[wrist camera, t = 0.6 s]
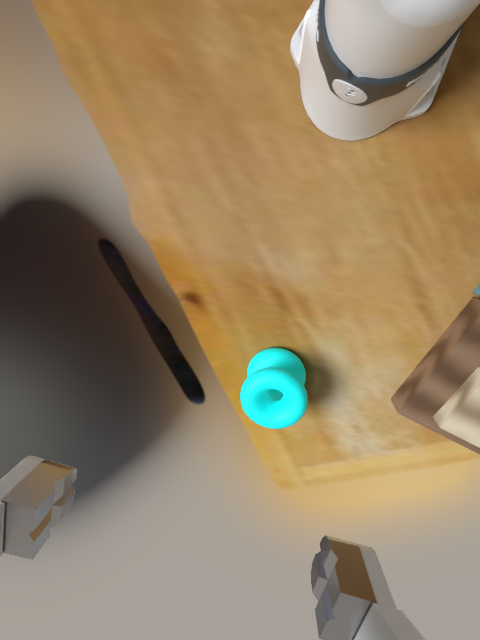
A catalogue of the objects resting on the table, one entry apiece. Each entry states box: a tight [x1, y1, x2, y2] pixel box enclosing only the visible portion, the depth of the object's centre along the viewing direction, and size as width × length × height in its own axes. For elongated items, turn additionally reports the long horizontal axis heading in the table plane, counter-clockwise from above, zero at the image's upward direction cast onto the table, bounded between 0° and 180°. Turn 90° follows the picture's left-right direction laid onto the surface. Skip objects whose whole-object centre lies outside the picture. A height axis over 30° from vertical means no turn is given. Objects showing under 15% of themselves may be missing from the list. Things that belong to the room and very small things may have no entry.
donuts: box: [240, 348, 308, 429], centre depth 47 cm, size 10×10×10 cm
